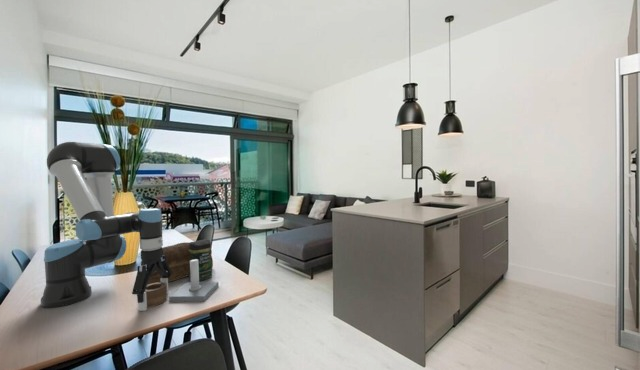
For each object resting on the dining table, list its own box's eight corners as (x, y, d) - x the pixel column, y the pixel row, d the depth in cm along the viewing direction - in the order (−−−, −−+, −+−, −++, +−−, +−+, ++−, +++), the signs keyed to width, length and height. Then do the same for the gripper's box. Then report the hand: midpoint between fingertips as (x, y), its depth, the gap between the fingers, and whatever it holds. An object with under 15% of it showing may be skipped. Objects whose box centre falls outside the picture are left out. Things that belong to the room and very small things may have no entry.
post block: (169, 301, 105) (167, 266, 105) (187, 286, 119) (186, 255, 119) (204, 301, 105) (202, 266, 104) (218, 286, 119) (217, 255, 118)
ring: (136, 307, 101) (135, 291, 101) (150, 296, 110) (150, 282, 109) (158, 306, 101) (157, 291, 101) (170, 296, 110) (170, 282, 109)
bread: (137, 281, 127) (136, 248, 126) (203, 263, 151) (202, 235, 151) (149, 289, 117) (147, 253, 117) (216, 268, 142) (215, 239, 141)
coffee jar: (195, 283, 122) (193, 243, 121) (187, 279, 127) (185, 241, 126) (215, 277, 129) (213, 239, 129) (206, 273, 134) (205, 237, 134)
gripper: (139, 258, 92) (142, 318, 93) (178, 240, 117) (180, 287, 118) (117, 258, 92) (121, 318, 93) (161, 240, 117) (164, 287, 118)
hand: (154, 301), depth 105 cm, fingers open, 13 cm apart
